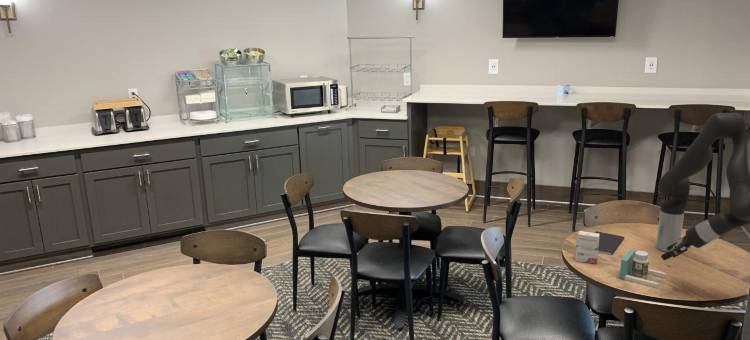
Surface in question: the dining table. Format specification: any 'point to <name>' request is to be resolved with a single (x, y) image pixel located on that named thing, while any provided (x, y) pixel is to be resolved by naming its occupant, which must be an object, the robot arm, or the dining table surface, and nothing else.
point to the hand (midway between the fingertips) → (665, 254)
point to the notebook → (608, 242)
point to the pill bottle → (640, 265)
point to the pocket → (627, 268)
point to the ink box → (587, 247)
